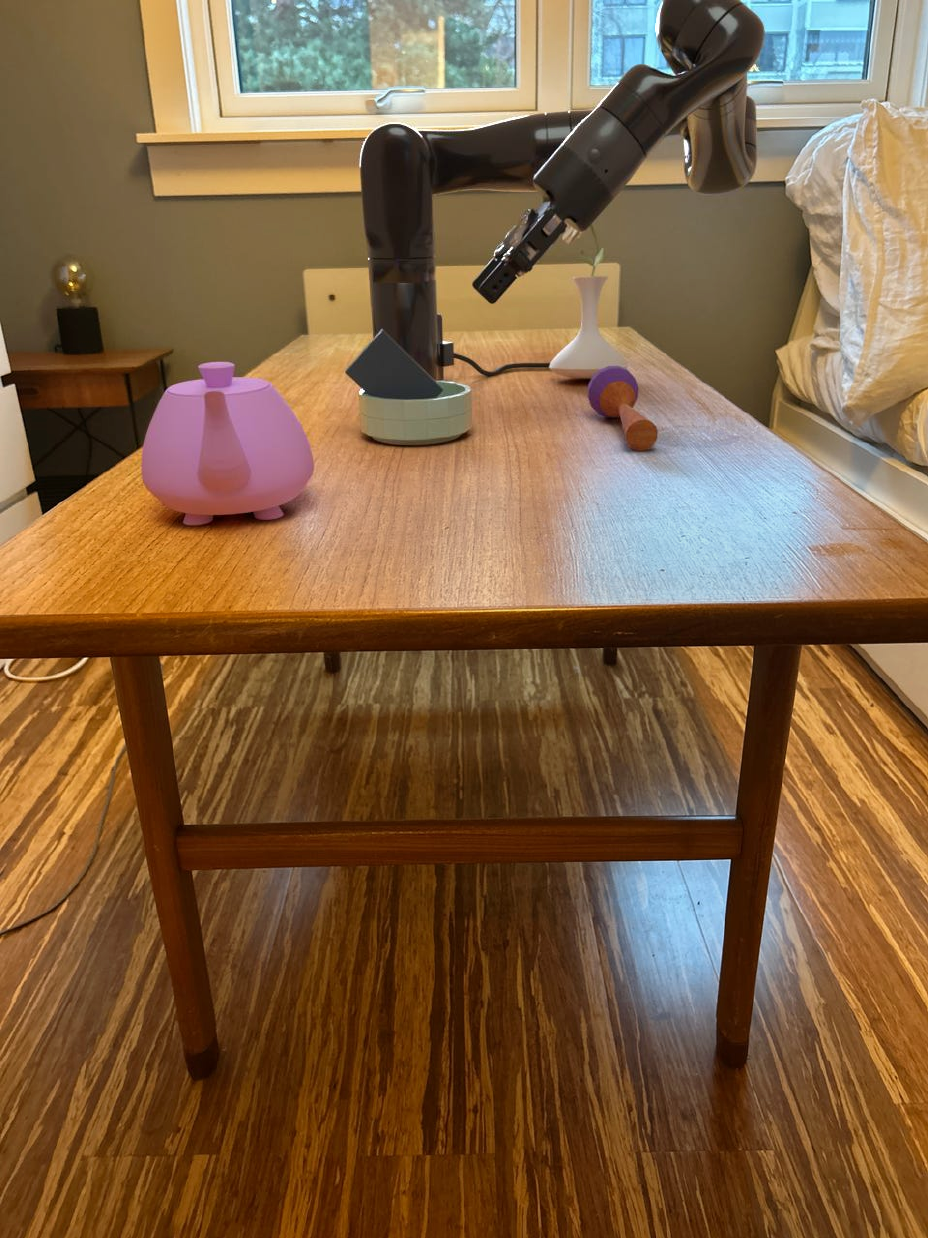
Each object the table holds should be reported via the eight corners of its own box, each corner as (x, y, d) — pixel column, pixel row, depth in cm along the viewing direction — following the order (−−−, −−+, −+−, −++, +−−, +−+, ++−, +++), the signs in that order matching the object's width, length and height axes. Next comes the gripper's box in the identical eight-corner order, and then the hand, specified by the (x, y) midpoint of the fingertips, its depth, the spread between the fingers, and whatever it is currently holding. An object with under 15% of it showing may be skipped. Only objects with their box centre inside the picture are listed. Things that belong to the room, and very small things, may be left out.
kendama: (609, 413, 91) (580, 366, 109) (616, 468, 94) (587, 414, 112) (667, 401, 91) (629, 356, 108) (673, 456, 94) (635, 404, 111)
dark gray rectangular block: (405, 425, 103) (345, 369, 100) (441, 386, 101) (381, 328, 98) (406, 430, 100) (344, 372, 97) (443, 390, 99) (382, 330, 96)
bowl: (416, 418, 110) (415, 376, 108) (493, 432, 102) (493, 387, 100) (339, 436, 102) (335, 391, 100) (416, 453, 94) (414, 405, 92)
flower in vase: (547, 375, 137) (548, 195, 129) (623, 374, 136) (629, 192, 128) (550, 383, 124) (552, 183, 116) (633, 381, 124) (641, 180, 116)
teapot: (325, 542, 69) (311, 381, 64) (133, 558, 67) (103, 392, 62) (312, 474, 87) (300, 344, 82) (160, 485, 85) (138, 351, 80)
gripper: (629, 196, 87) (513, 327, 91) (600, 198, 100) (499, 312, 104) (575, 136, 84) (458, 273, 88) (552, 146, 97) (451, 265, 101)
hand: (480, 294), depth 96 cm, fingers open, 8 cm apart
